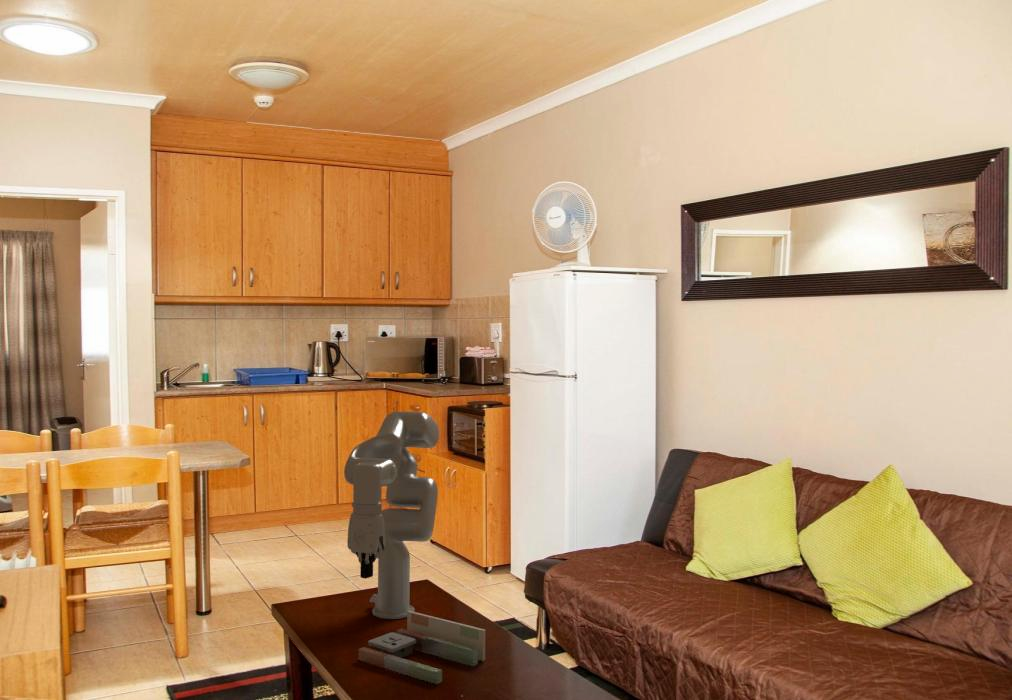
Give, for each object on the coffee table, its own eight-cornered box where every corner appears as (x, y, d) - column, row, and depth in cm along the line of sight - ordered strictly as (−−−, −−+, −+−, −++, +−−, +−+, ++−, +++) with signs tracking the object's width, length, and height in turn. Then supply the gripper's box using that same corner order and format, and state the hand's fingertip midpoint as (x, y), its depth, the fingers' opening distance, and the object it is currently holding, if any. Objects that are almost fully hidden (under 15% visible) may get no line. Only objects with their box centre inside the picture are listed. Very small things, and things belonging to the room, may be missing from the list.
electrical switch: (392, 649, 220) (367, 635, 226) (389, 668, 221) (365, 653, 227) (417, 639, 228) (393, 625, 233) (415, 658, 229) (390, 643, 234)
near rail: (358, 660, 222) (358, 649, 222) (363, 658, 224) (363, 647, 224) (436, 684, 208) (436, 672, 207) (441, 682, 209) (442, 669, 209)
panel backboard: (406, 640, 238) (407, 611, 238) (409, 639, 238) (409, 610, 238) (482, 661, 223) (483, 630, 223) (485, 660, 224) (485, 629, 224)
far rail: (396, 644, 234) (396, 630, 234) (401, 642, 236) (401, 628, 236) (473, 666, 219) (473, 650, 219) (477, 664, 221) (477, 648, 221)
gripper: (337, 507, 233) (336, 575, 233) (378, 514, 224) (377, 585, 225) (357, 503, 239) (356, 569, 239) (397, 510, 231) (397, 578, 231)
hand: (366, 577), depth 232 cm, fingers closed
